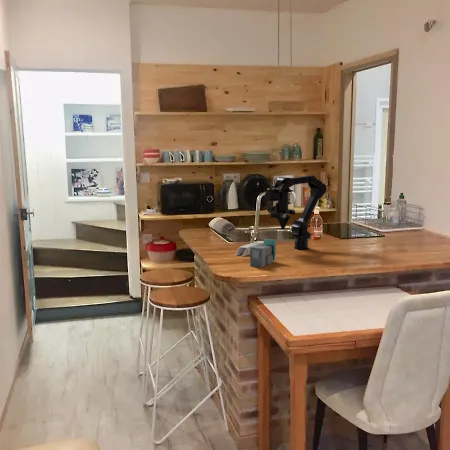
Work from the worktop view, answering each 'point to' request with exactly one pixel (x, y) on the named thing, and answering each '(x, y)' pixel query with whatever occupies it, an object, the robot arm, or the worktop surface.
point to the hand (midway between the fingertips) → (282, 229)
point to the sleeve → (268, 255)
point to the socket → (257, 256)
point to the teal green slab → (272, 243)
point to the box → (248, 248)
